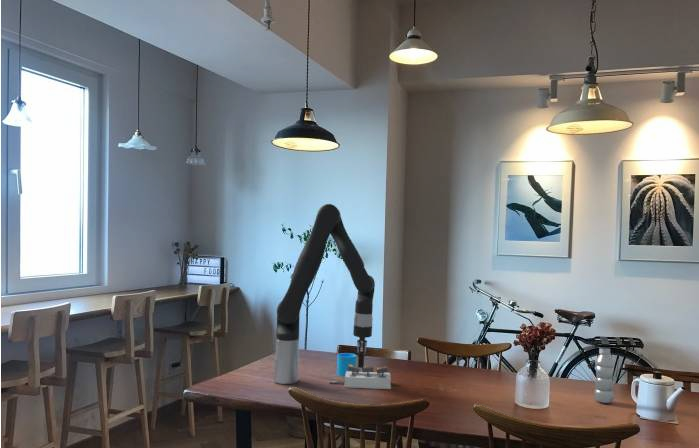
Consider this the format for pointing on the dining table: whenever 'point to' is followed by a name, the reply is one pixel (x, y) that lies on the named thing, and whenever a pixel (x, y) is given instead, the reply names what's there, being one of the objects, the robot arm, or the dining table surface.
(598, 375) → the plastic bottle
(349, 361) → the mug
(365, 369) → the rocker
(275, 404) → the dining table surface
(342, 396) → the dining table surface
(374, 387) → the power strip
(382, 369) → the rocker
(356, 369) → the rocker
